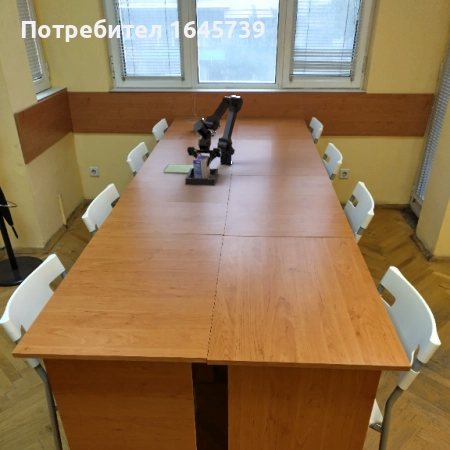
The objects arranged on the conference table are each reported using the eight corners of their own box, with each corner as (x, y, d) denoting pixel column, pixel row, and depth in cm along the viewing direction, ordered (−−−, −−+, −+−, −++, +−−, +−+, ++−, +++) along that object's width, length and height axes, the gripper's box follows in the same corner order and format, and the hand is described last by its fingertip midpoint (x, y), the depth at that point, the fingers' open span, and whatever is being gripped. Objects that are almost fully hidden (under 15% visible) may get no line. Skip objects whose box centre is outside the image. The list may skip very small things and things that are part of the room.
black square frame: (218, 174, 262) (218, 168, 260) (214, 185, 247) (214, 179, 245) (190, 173, 263) (190, 167, 261) (185, 184, 249) (185, 178, 247)
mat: (201, 166, 275) (201, 165, 275) (197, 173, 263) (197, 172, 263) (168, 165, 277) (168, 164, 276) (164, 172, 265) (164, 171, 265)
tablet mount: (208, 143, 341) (220, 125, 333) (192, 131, 337) (205, 113, 329) (211, 134, 363) (223, 117, 355) (196, 123, 359) (208, 105, 351)
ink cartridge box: (202, 176, 260) (200, 150, 252) (210, 177, 258) (209, 151, 250) (193, 181, 253) (192, 155, 245) (202, 182, 251) (201, 156, 243)
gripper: (186, 131, 248) (183, 157, 245) (220, 133, 245) (216, 159, 242) (191, 142, 259) (187, 167, 256) (222, 143, 256) (219, 169, 253)
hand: (202, 165), depth 251 cm, fingers closed on ink cartridge box, 6 cm apart
